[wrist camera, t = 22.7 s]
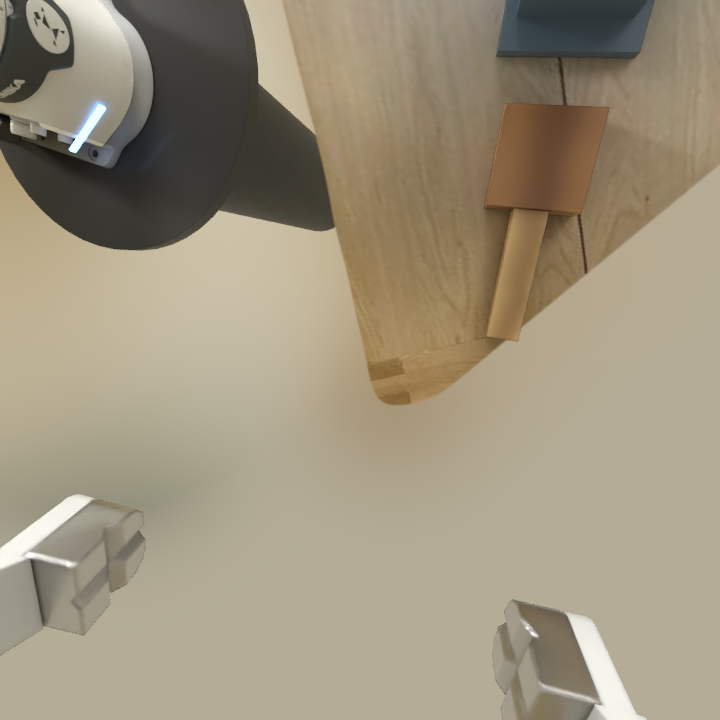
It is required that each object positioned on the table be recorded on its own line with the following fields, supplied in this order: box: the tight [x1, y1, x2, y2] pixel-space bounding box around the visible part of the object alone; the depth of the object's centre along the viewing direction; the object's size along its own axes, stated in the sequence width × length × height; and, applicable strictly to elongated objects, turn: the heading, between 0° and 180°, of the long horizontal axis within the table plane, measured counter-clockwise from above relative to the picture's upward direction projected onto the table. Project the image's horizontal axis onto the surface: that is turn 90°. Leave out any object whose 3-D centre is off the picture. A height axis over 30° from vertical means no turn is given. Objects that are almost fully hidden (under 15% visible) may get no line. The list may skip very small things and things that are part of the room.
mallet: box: [484, 103, 609, 341], centre depth 35 cm, size 8×20×2 cm, turn 173°
